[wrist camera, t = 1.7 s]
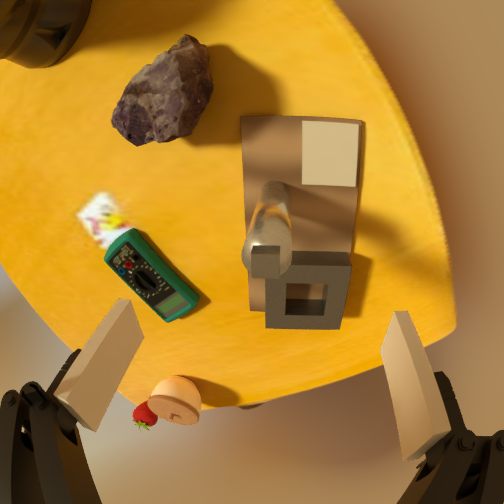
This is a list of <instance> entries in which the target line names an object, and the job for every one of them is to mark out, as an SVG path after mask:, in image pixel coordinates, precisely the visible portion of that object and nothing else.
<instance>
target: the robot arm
mask: <svg viewBox="0 0 504 504" xmlns="http://www.w3.org/2000/svg"><path fill="white" fill-rule="evenodd" d="M90 5H91V0H0V59H7V60H9V61H11V62H14V63H16V64H19V65H21V66H23V67H26V68H30V69H35V68H45V67H48V66H50V65H52V64H54V63H55V62H57V61H58V60H59V59H60V58H61V57H62V56H64V55H65V53H66V52H67V51H68V50H69V49H70V48H71V46H72V45H73V44H74V42H75V41H76V39H77V38H78V36H79V34H80V33H81V31H82V29H83V27H84V25H85V22H86V20H87V17H88V14H89V10H90ZM143 339H144V335H143V333H142V330H141V328H140V325H139V322H138V320H137V317H136V314H135V311H134V308H133V306H132V303H131V300H128V299H120V298H119V299H118V300H117V302H116V303H115V304H114V306H113V307H112V308H111V310H110V311H109V312H108V314H107V315H106V316H105V318H104V319H103V321H102V322H101V323H100V325H99V326H98V327H97V329H96V330H95V332H94V333H93V335H92V336H91V337H90V339H89V340H88V342H87V343H86V345H85V346H84V348H83V349H82V350H81V349H77V350H76V351H75V352H73V353H72V354H71V355H70V356H69V358H68V359H67V361H66V362H65V364H64V365H63V367H62V368H61V370H60V371H59V373H58V374H57V376H56V377H55V379H54V381H53V382H52V384H51V385H50V387H49V388H48V390H47V391H46V392H45V391H44V390H43V389H42V387H41V386H40V385H39V384H38V383H37V382H34V381H32V382H28V383H26V384H25V385H24V386H23V387H22V389H21V390H20V394H19V393H18V392H17V391H16V390H9V391H8V392H6V393H5V395H4V396H3V398H2V401H1V406H0V504H102V502H101V500H100V497H99V495H98V492H97V489H96V487H95V484H94V481H93V479H92V476H91V473H90V470H89V467H88V464H87V460H86V457H85V453H84V450H83V446H82V442H81V439H80V435H79V430H78V428H77V426H76V423H77V421H78V422H79V423H80V424H81V425H82V426H83V427H85V428H87V429H90V430H92V431H94V432H96V431H97V429H98V427H99V425H100V422H101V420H102V418H103V416H104V414H105V412H106V410H107V408H108V406H109V404H110V402H111V400H112V398H113V396H114V394H115V392H116V390H117V388H118V386H119V384H120V382H121V380H122V378H123V376H124V374H125V372H126V370H127V368H128V367H129V365H130V363H131V361H132V359H133V357H134V355H135V353H136V351H137V350H138V348H139V346H140V344H141V342H142V340H143ZM380 352H381V356H382V360H383V364H384V367H385V372H386V376H387V380H388V384H389V388H390V393H391V397H392V402H393V406H394V411H395V416H396V422H397V427H398V432H399V438H400V444H401V450H402V457H403V462H405V461H409V460H414V459H418V458H420V457H421V456H422V455H423V454H425V455H426V459H425V460H424V461H422V462H421V463H420V464H419V465H418V466H417V467H416V468H417V469H418V468H419V467H420V469H419V471H418V472H417V474H416V476H415V477H414V479H413V480H412V482H411V483H410V485H409V486H408V488H407V490H406V491H405V492H404V494H403V495H402V497H401V498H400V500H399V501H398V502H397V504H503V502H504V430H499V431H498V432H496V433H495V434H494V435H493V436H475V434H474V433H473V432H472V431H470V430H467V429H466V427H465V424H464V421H463V418H462V415H461V412H460V409H459V406H458V403H457V400H456V399H455V394H454V391H453V390H452V389H453V388H452V386H451V383H450V380H449V379H448V377H447V376H446V375H445V374H444V373H443V372H442V371H441V372H435V373H433V371H432V368H431V366H430V363H429V360H428V358H427V355H426V353H425V350H424V348H423V345H422V343H421V340H420V338H419V336H418V333H417V331H416V329H415V326H414V324H413V322H412V319H411V317H410V315H409V313H408V311H394V313H393V316H392V319H391V322H390V324H389V327H388V330H387V333H386V335H385V338H384V341H383V343H382V346H381V348H380ZM22 427H23V428H24V429H25V430H24V433H23V432H21V430H22Z"/></svg>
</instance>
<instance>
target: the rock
mask: <svg viewBox="0 0 504 504" xmlns="http://www.w3.org/2000/svg"><path fill="white" fill-rule="evenodd" d="M177 43H178V44H177V45H173V46H172V47H171V48H170V50H169V51H168V52H167V51H165V52H163V53H162V54H160V55H158V56H157V57H156V58H155V60H154V62H153V63H152V64H149V65H145V66H144V67H143V68H142V69H141V71H140V72H138V73H137V74H136V75H135V76H134V77H133V78H132V79H131V81H130V82H129V84H128V85H127V86H126V88H125V90H124V92H123V95H122V97H121V99H120V101H119V102H118V103H117V107H116V108H115V109H114V111H113V115H112V119H111V123H112V126H113V127H114V128H116V129H117V130H118V131H119V133H120V134H121V135H122V136H123V137H124V138H125V139H126V140H128V141H129V142H131V143H133V144H134V145H135V146H141V145H144V144H147V143H149V142H152V141H156V142H158V143H161V142H170V141H173V140H175V139H177V138H179V137H185V136H188V135H190V134H192V131H193V130H194V128H195V126H196V125H197V123H198V120H199V118H200V116H201V114H202V112H203V111H204V109H205V107H206V106H207V104H208V103H209V100H210V96H211V93H212V91H213V84H212V81H213V80H212V78H211V76H210V73H209V58H210V57H209V53H208V49H207V48H206V46H205V45H203V44H200V43H199V42H198V40H197V39H196V38H194V37H192V36H190V35H187V34H184V35H183V37H181V38H180V39H179V41H178V42H177Z"/></svg>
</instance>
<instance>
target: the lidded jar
mask: <svg viewBox="0 0 504 504" xmlns="http://www.w3.org/2000/svg"><path fill="white" fill-rule="evenodd" d="M147 404H148V407H149V408H150V410H151V411H152V412H153V413H155V414H156V415H158V416H159V417H161V418H163V419H165V420H167V421H170V422H173V423H177V424H182V425H192V424H195V423H197V422H198V421H199V415H200V410H201V396H200V393H199V391H198V389H197V388H196V385H195V384H194V383H193V382H192V381H191V380H189V379H187V378H185V377H182V376H171V377H170V378H166V379H164V380H162V381H161V382H159V383H158V384H157V386H156V387H155V388H154V390H153V392H152V394H151V396H150V398H149V400H148V402H147Z"/></svg>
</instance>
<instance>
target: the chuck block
mask: <svg viewBox="0 0 504 504" xmlns="http://www.w3.org/2000/svg"><path fill="white" fill-rule="evenodd" d="M351 270H352V265H351V262H350V259H349V256H348V253H347V252H333V251H292V262H291V265H290V267H289V268H288V270H287V271H286V272H285V273H283V274H282V275H280V277H279V279H269V278H265V320H266V328H273V329H318V330H334V329H340V325H341V321H342V316H343V312H344V307H345V302H346V297H347V292H348V287H349V281H350V276H351ZM286 283H303V284H324V286H323V293H322V299H286Z"/></svg>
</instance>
